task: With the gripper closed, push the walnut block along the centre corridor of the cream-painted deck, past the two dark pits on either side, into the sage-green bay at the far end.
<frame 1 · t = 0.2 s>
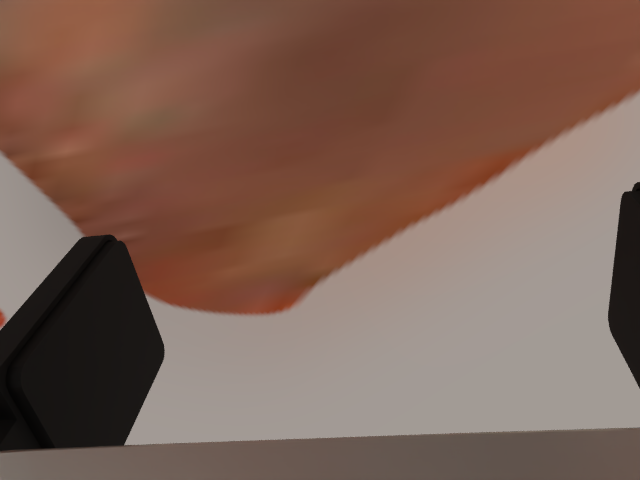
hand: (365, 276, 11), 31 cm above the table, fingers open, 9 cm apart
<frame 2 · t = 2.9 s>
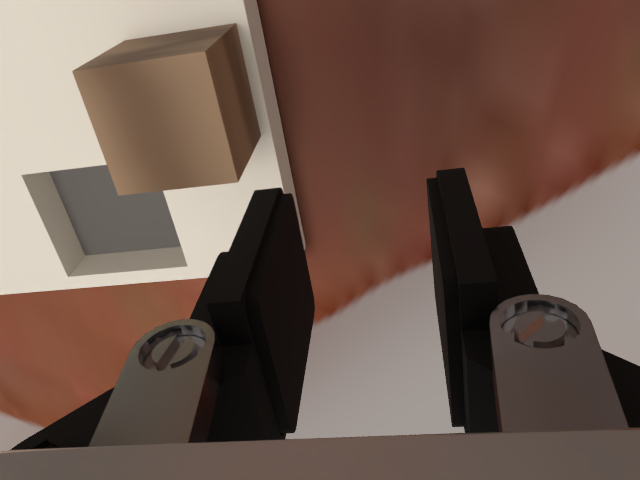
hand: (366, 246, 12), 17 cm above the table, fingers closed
walnut block: (195, 89, 26), point 2 cm above the table, touching deck
deck: (13, 102, 30), on the table
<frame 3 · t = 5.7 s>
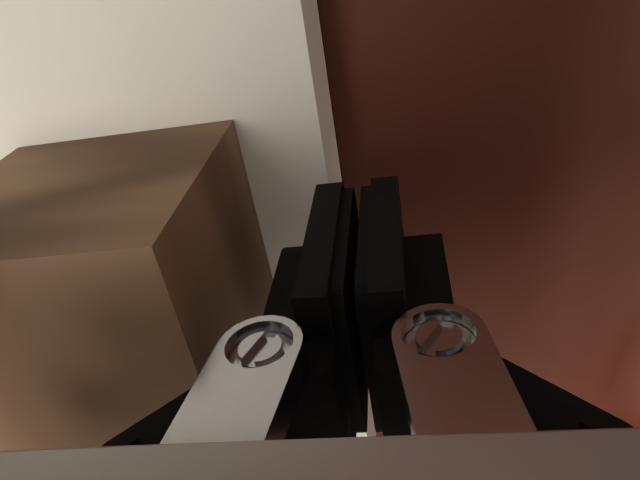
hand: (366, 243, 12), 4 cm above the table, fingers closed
walnut block: (157, 233, 14), point 3 cm above the table, touching gripper
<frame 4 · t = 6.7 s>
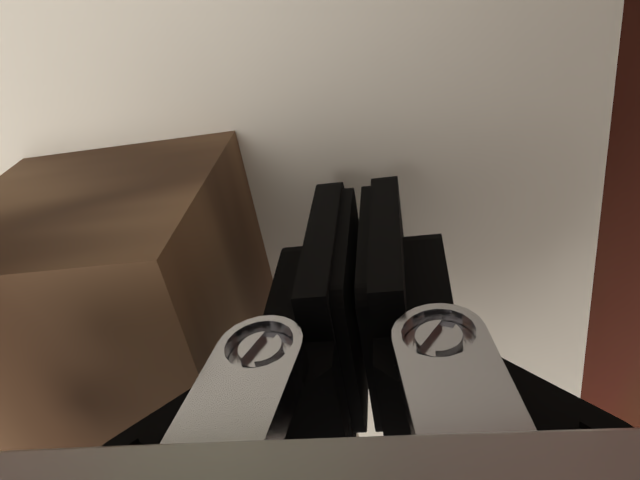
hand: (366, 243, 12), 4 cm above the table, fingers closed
walnut block: (160, 242, 14), point 3 cm above the table, touching gripper
deck: (68, 193, 16), on the table
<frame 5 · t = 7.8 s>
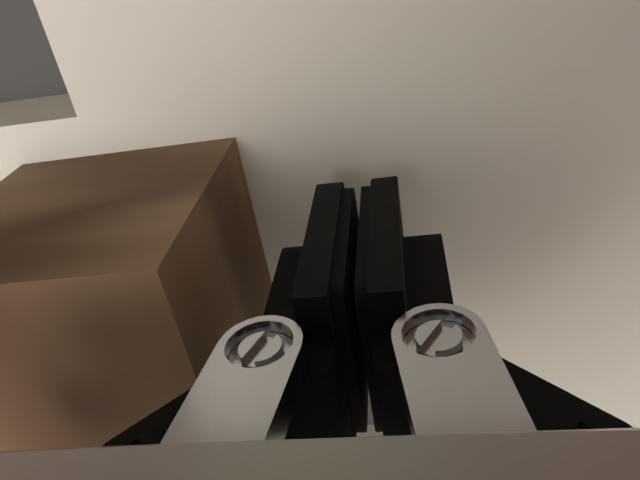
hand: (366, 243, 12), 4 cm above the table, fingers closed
walnut block: (159, 247, 14), point 3 cm above the table, touching gripper
deck: (157, 190, 16), on the table
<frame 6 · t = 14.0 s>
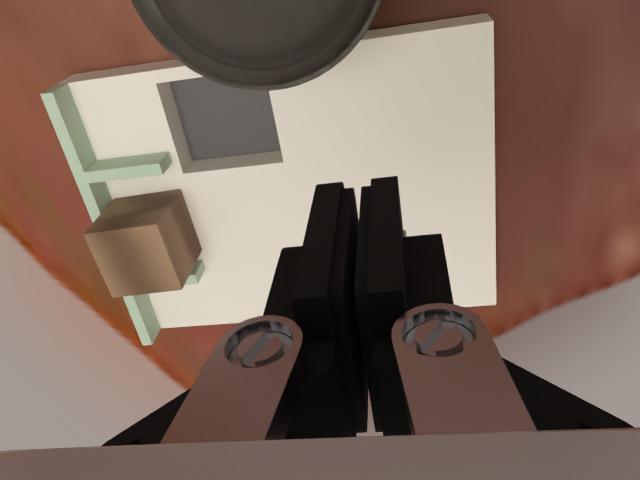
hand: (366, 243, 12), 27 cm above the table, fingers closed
walnut block: (159, 224, 42), point 2 cm above the table, touching deck
deck: (296, 186, 42), on the table
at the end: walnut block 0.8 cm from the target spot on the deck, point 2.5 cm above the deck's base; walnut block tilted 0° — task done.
